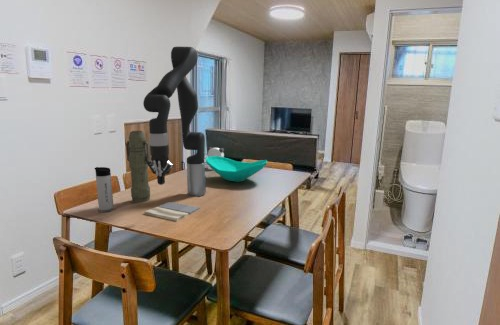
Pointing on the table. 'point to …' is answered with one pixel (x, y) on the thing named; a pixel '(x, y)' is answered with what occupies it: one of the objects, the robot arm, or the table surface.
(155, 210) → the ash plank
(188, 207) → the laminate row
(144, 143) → the olive green canister
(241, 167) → the table top decor
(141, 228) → the table surface
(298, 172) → the table surface
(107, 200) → the travel mug
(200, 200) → the table surface
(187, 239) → the table surface
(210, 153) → the panda figurine
